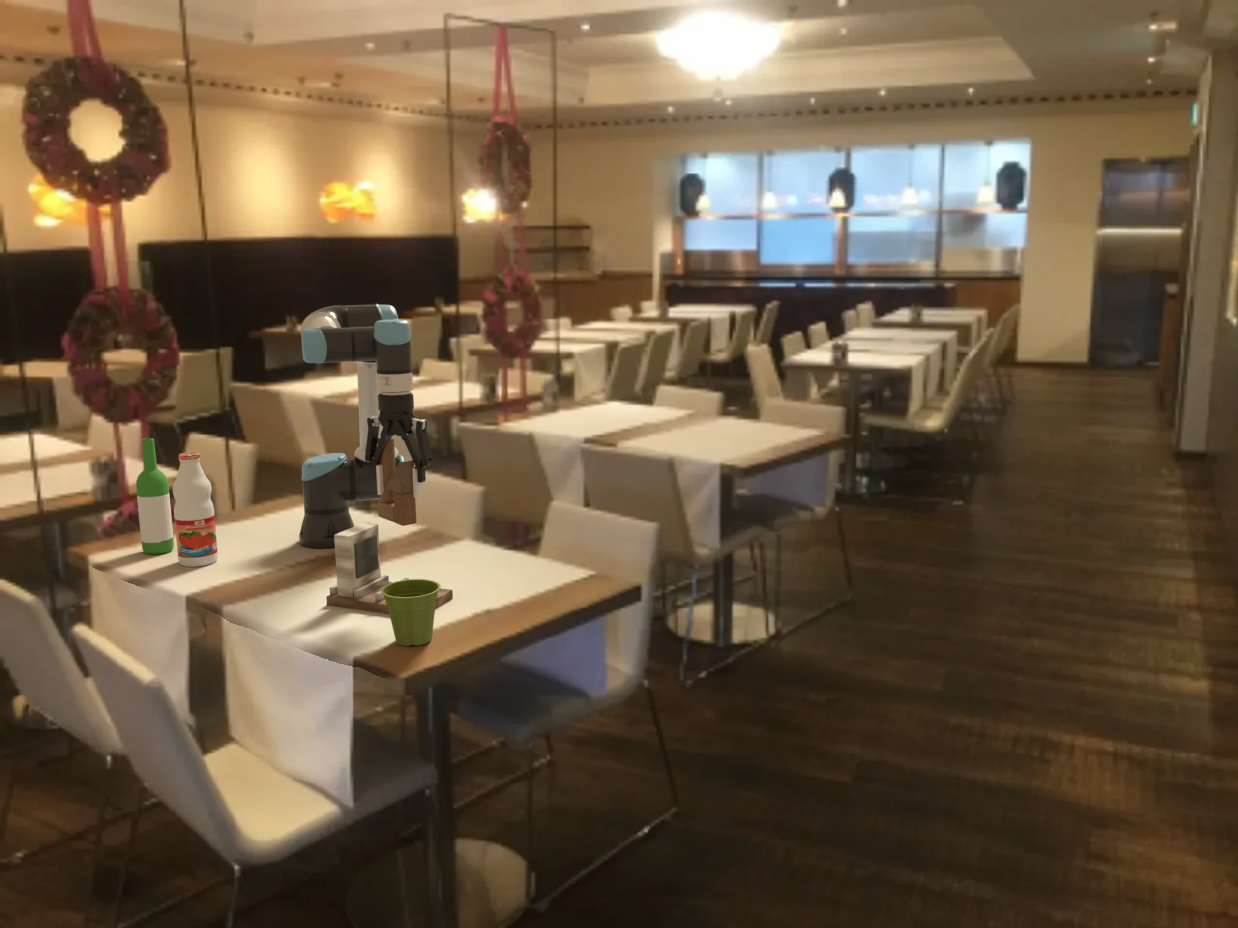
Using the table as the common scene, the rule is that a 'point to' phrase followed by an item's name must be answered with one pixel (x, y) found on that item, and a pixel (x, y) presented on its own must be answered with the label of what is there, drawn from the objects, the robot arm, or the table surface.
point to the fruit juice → (194, 514)
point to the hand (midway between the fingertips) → (400, 495)
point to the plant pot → (412, 609)
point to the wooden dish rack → (363, 572)
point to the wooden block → (397, 489)
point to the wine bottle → (154, 504)
